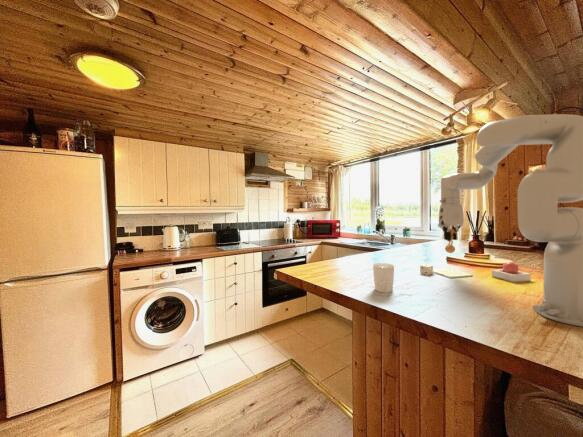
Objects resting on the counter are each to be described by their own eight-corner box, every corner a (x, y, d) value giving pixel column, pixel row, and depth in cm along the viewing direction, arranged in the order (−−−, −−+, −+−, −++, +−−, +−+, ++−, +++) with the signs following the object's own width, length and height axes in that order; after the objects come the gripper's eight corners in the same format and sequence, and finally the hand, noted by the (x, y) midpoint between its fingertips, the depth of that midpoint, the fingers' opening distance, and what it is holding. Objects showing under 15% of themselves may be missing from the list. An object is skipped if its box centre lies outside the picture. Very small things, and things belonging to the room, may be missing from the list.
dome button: (512, 275, 101) (512, 263, 101) (499, 272, 106) (499, 261, 106) (521, 274, 102) (521, 263, 102) (509, 271, 107) (509, 260, 107)
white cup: (373, 292, 92) (373, 267, 92) (373, 286, 99) (372, 262, 99) (395, 294, 90) (395, 268, 89) (393, 287, 97) (392, 263, 97)
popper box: (513, 282, 99) (513, 275, 99) (491, 276, 108) (491, 270, 108) (530, 280, 100) (530, 273, 100) (507, 275, 109) (507, 268, 109)
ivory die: (427, 275, 113) (427, 266, 113) (419, 273, 117) (419, 264, 116) (432, 273, 115) (432, 265, 115) (424, 272, 119) (424, 263, 119)
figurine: (440, 252, 118) (435, 229, 116) (450, 247, 118) (445, 225, 117) (454, 256, 109) (449, 232, 108) (465, 251, 110) (460, 228, 109)
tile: (450, 278, 107) (450, 276, 107) (430, 271, 119) (430, 270, 119) (472, 276, 109) (472, 274, 109) (451, 269, 121) (451, 268, 121)
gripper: (441, 201, 107) (442, 241, 108) (472, 201, 110) (472, 239, 111) (429, 202, 115) (429, 239, 115) (458, 201, 118) (458, 238, 118)
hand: (450, 239), depth 113 cm, fingers closed on figurine, 2 cm apart
